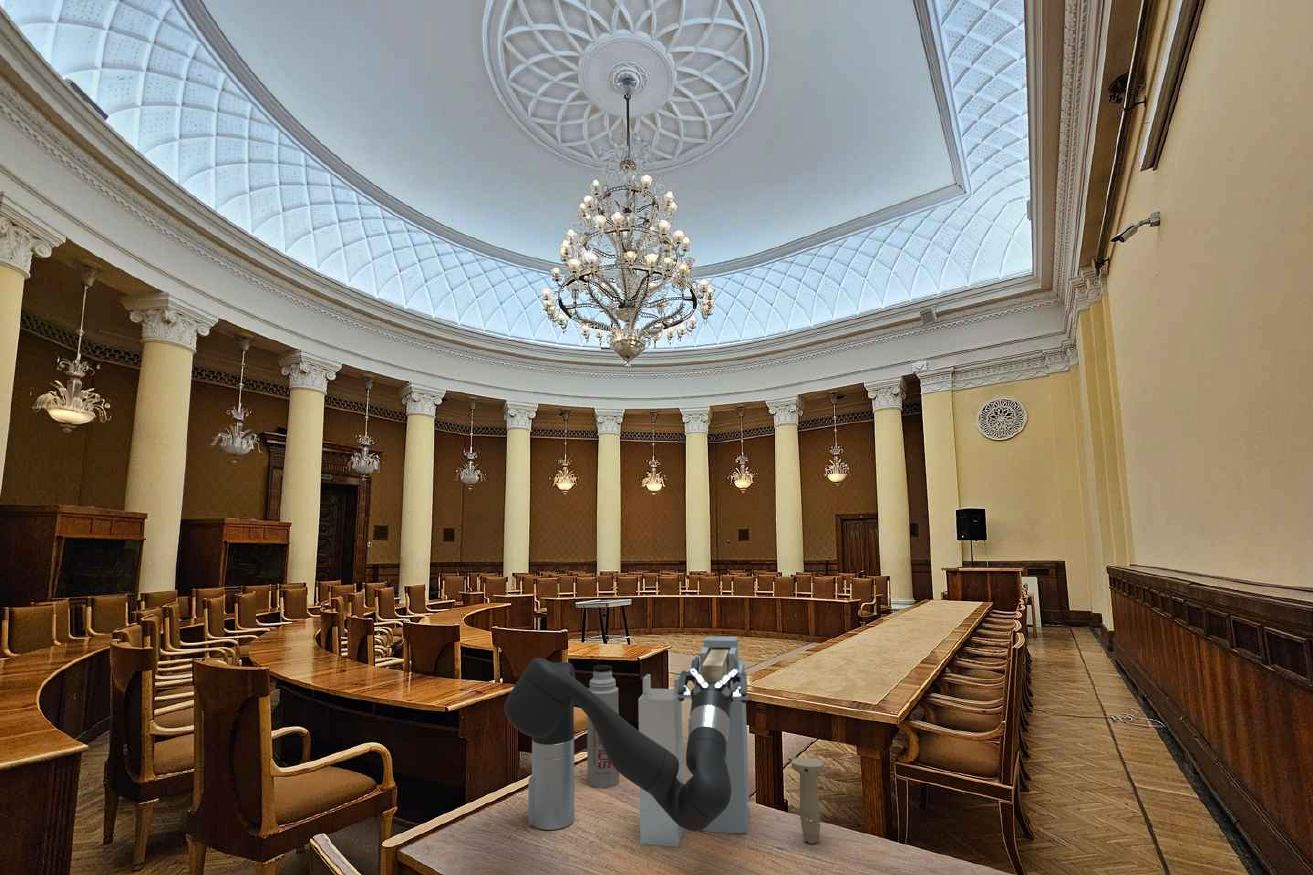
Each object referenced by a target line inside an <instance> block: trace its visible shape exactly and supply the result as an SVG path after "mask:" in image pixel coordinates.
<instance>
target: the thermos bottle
mask: <svg viewBox="0 0 1313 875" xmlns="http://www.w3.org/2000/svg"><path fill="white" fill-rule="evenodd" d="M612 670H613V666H612V665H610V664H609V665H608V664H600V665H594V666H593V667H592V671H593V673H592V678H591V679H590V680H589V688H588V689H589V690H590V691H591V692H592V693H594V694H595V695H596V696H597V697H599V698H600V699H601V700H602V701H603V702H605V703H606V704H607V705H608V706H609V707H611V708H612V709H613V710H614V711H615V712H616V713H617V714H618V715H620V714H619V713H620V712H619V688H618V687H617V686H616V684H617V683H616V682H617V681H616V678H614V677H613V671H612ZM586 718H587V719H586V722H587V723H586V725H587V731H586V732H587V736H586V737H587V738H586V739H587V743H586V744H587V746H586V747H587V756H586V757H587V785H588V786H590V787H592V788H595V789H597V788H599V789H604V788H611V787H615V786H616V785H618V784H619V783H620V773H619V772H618V771H617V770H616V769H615V768H614V767H613V765H612V764H611V762H610V761H609V759H608V757H607V755H606V753H605V751H604V748H603V746H602V744H601V741H600V739H599V737H598V734H597V732H596V730H595V728H594V726H593V724H592V722H591V720H590V719H589V717H588V716H587V715H586ZM599 761H600V762H599Z"/></svg>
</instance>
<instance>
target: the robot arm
mask: <svg viewBox="0 0 1313 875" xmlns="http://www.w3.org/2000/svg"><path fill="white" fill-rule="evenodd" d="M694 658H695V659H692V660H691V665H690V670H689V671H687V670H681V672H680V674H679V675H680V679H679V684H678V688H677V692H678V700H679V701H682V702H683V701H685V699H690V700H691V706H690V711H689V717H688V726H687V730H688V731H687V735H688V736H687V742H686V743H687V744H686V750H685V751H686V752H685V764H686V767H687V769H688V771H689V772H690V774H692V776H691V777H689V779H688V780H687V781H686V782H685V783H684V784H682V783H681V782H680V781H679V780H678V779H677V778H676V776H677V774H678V770H679V762H678V759H677V758H676V756H675V755H673V754H672V753H671V752H669V751H668V750H667V749H665V748H664V747H662V746H661V745H659V744H657V743H656V742H654V741H653V740H651V739H650V738H648V737H647V736H645V735H644V734H642V733H641V732H640V731H639V729H637V728H635V726H633V725H631V724H630V723H629V722H628V721H627V720H625V719H624V718H623V717H622V716H621V715H620V714H619V715H618V714H617V713H616V712H615V711H614V710H613V709H612V708H611V707H609V706H608V705H607V704H606V703H605V702H603V701H602V700H601V699H600V698H599V697H597V696H596V695H595V694H594V693H592V692H591V691H590V690H589V688H588V687H587V686H585V685H584V684H582V683H581V682H580V681H579V680H577V679H576V673H575V672H576V671H575V668H574V665H573V664H572V663H571V662H568V661H563V662H552V661H550V660H547V659H545V658H541V657H534V658H533V659H532V660H531V661H530V662H529V664H528V665H527V667H526V668H525V669H524V671H523V672H522V675H521V676H520V678H519V679H518V680H517V682H516V683H515V685H514V686H513V688H512V690H511V691H510V692H509V694H508V696H507V697H506V699H505V702H504V705H503V710H504V714H505V716H506V718H507V720H508V721H509V723H510V724H511V725H512V726H513V727H514V728H515V729H516V730H518V731H519V732H520V733H522V734H524V735H526V736H529V737H531V741H532V742H531V743H532V744H531V745H532V746H531V758H532V759H531V760H532V761H531V775H530V776H529V778H528V798H527V799H528V807H527V808H528V810H527V811H528V812H527V813H528V814H527V816H528V817H527V818H528V819H527V820H528V822H527V825H528V826H533V827H535V828H536V829H539V830H549V831H550V830H551V831H552V830H559V829H562V828H566V827H568V826H570V825H571V824H573V823H574V822H575V812H576V811H575V810H576V809H575V721H574V720H575V718H574V717H575V712H574V711H575V705H577V706H578V707H579V708H580V709H581V710H582V711H583V713H585V715H586V717H587V716H588V717H589V719H590V720H591V722H592V724H593V726H594V728H595V730H596V732H597V734H598V737H599V739H600V741H601V744H602V746H603V748H604V751H605V753H606V755H607V757H608V759H609V761H610V762H611V764H612V765H613V767H614V768H615V769H616V770H617V771H618V772H619V775H621V776H623V777H624V778H625V779H626V780H628V781H630V782H631V783H633V784H634V785H636V786H637V787H638V788H639V789H640V788H642V789H643V790H645V791H646V792H648V793H650V794H651V795H652V796H653V798H654V799H655V800H656V801H657V802H658V804H659V805H660V806H661V807H662V808H663V809H664V810H665V812H666V813H667V814H668V815H669V816H670V817H671V818H672V820H673V821H674V822H675V823H676V824H678V825H679V826H680V827H682V828H684V830H686V831H689V832H695V833H696V832H702V831H701V830H703V829H705V828H706V827H707V826H708V825H709V824H710V823H711V822H712V821H713V820H715V819H716V818H717V817H718V816H719V815H720V814H721V813H722V812H723V811H724V810H725V809H726V808H727V806H728V804H729V801H730V797H731V783H730V778H729V774H728V769H727V765H726V762H725V758H726V745H727V740H728V735H729V722H730V707H731V703H732V702H733V700H741V702H742V703H747V702H748V681H747V680H748V679H747V672H746V671H745V672H741V673H740V672H738V669H739V666H738V661H737V660H735V658H732V659H731V672H730V673H729V674H728V675H727V674H726V675H725V676H724V677H723V678H722V679H721V680H720V681H719V682H706V681H704V679H703V678H702V676H701V675H700V674H698V673H699V665H700V656H699V657H697V656H695V657H694ZM689 682H692V684H693V686H694V687H693V688H692V689H691V690H689V687H688V683H689ZM737 682H740V687H738V689H737V691H736V692H735V693H733V691H732V690H733V687H734V686H735V684H736V683H737Z"/></svg>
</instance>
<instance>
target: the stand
mask: <svg viewBox="0 0 1313 875" xmlns="http://www.w3.org/2000/svg"><path fill="white" fill-rule="evenodd" d="M738 638H739V637H738V636H705V637H704V639H703V647H702V649H701V651H700V652H699V663H700V665H699V673H698V674H700V675H701V676H702V665H703V663H704V661H705V660H706V658H707V656H708V654H709V653H710V651H711V649H712V647H726V648H731V649H730V651H729V669H728V671H727V675H728V674H729V673H730V672H731V659H732V658H735V660H737V661H738V666H739V669H738V672H740V673H741V672H746V670H745V668H746V667H745V661H739V639H738ZM738 687H740V682H737V683H736V684H735V686H734V687H733V690H732V691H733V693H735V692H736V691H737V689H738ZM746 703H747V702H746ZM746 703H742V702H741V700H733V702H732V703H731V707H730V722H729V735H728V740H727V745H726V758H725V762H726V765H727V769H728V774H729V778H730V783H731V797H730V801H729V804H728V806H727V808H726V809H725V810H724V811H723V812H722V813H721V814H720V815H719V816H718V817H717V818H716V819H715V820H713V821H712V822H711V823H710V824H709V825H708V826H707V827H706V828H705V829H703V830H701V831H700V832H707V833H708V832H710V833H712V832H713V833H722V834H723V833H726V834H737V833H747V834H748V826H749V819H750V811H751V810H749V809H750V807H748V806H750V785H749V782H750V781H749V780H750V779H749V755H748V730H747V728H748V726H747V704H746ZM747 803H749V805H748V804H747ZM748 818H749V819H748Z"/></svg>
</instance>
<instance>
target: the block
mask: <svg viewBox="0 0 1313 875" xmlns="http://www.w3.org/2000/svg"><path fill="white" fill-rule="evenodd" d="M730 649H731V648H726V647H712V649H711V651H710V653H709V654H708V656H707V658H706V660H705V661H704V663H703V665H702V678H703V679H704V681H706V682H719V681H720V680H721V679H722V678H723V677H724V676H725V675H726V674H727V671H728V669H729V651H730Z"/></svg>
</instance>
